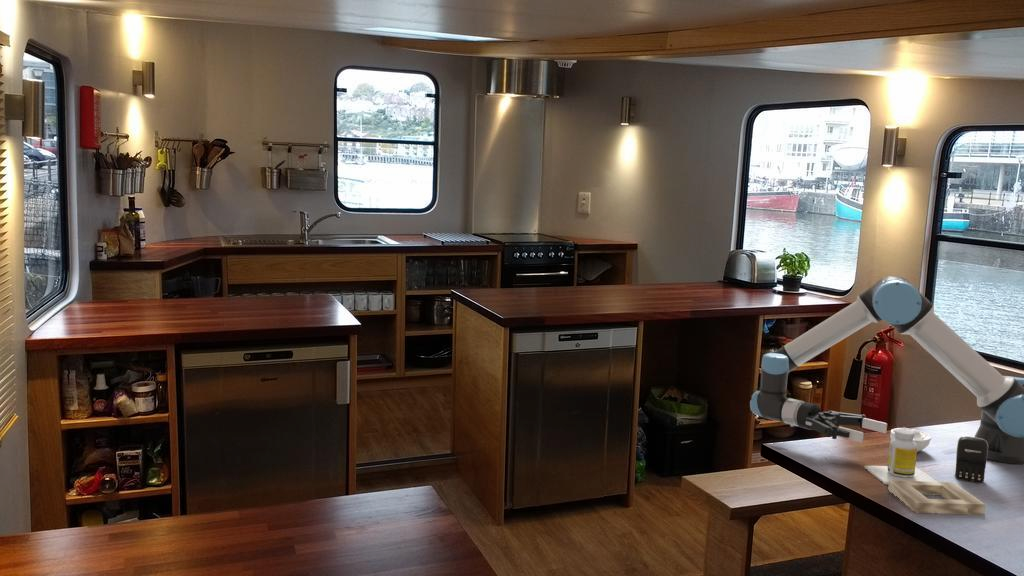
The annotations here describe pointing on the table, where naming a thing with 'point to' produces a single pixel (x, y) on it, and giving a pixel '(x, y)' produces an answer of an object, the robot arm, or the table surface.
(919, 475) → the pad
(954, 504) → the holder
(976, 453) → the battery charger
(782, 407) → the robot arm
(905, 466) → the pill bottle
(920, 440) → the cell model
